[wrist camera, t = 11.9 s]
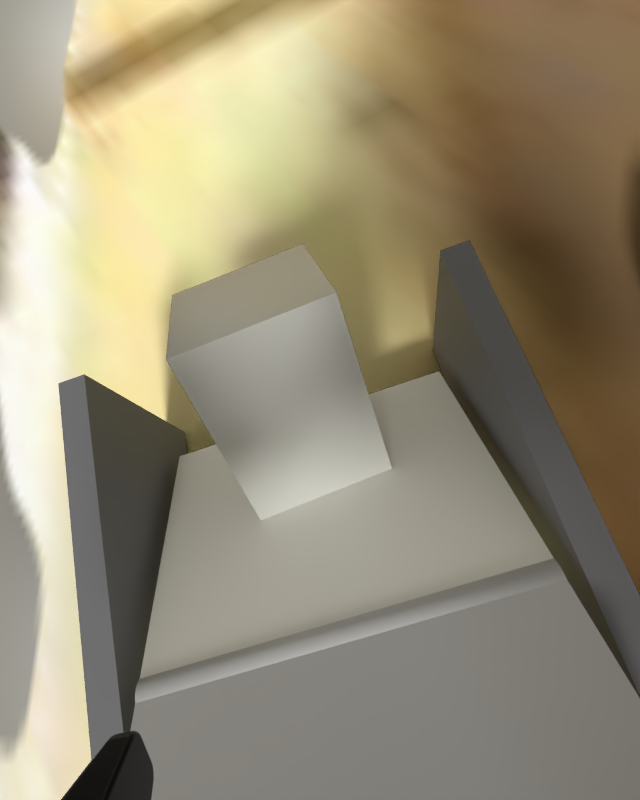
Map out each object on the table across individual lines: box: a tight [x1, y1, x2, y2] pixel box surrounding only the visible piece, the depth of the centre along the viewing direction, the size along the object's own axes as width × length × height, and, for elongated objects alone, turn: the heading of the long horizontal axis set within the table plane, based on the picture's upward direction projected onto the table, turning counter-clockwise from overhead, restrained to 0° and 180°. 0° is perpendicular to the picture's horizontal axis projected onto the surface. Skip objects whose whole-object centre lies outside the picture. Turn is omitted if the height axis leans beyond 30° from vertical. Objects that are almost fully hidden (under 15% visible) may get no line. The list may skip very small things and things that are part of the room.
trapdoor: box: [130, 371, 640, 800], centre depth 16 cm, size 16×12×3 cm
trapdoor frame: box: [59, 240, 640, 759], centre depth 18 cm, size 16×15×8 cm
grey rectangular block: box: [166, 244, 392, 520], centre depth 17 cm, size 5×5×7 cm
